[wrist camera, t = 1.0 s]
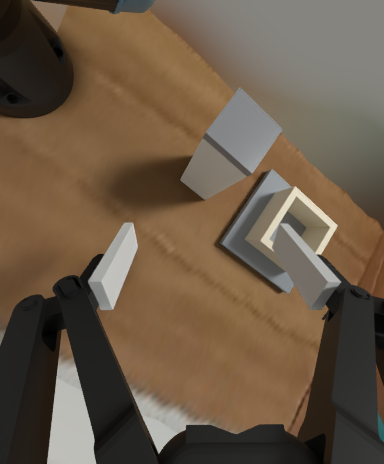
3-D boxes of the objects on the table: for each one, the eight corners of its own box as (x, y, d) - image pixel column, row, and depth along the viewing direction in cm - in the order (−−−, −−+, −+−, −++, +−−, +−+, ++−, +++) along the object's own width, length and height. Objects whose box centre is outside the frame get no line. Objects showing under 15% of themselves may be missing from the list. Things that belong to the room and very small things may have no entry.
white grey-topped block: (179, 180, 32) (205, 132, 16) (198, 155, 33) (240, 87, 17) (205, 200, 33) (252, 173, 18) (222, 175, 34) (282, 129, 18)
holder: (218, 243, 34) (234, 246, 28) (267, 171, 36) (291, 158, 30) (283, 291, 37) (310, 304, 31) (324, 223, 39) (357, 221, 33)
